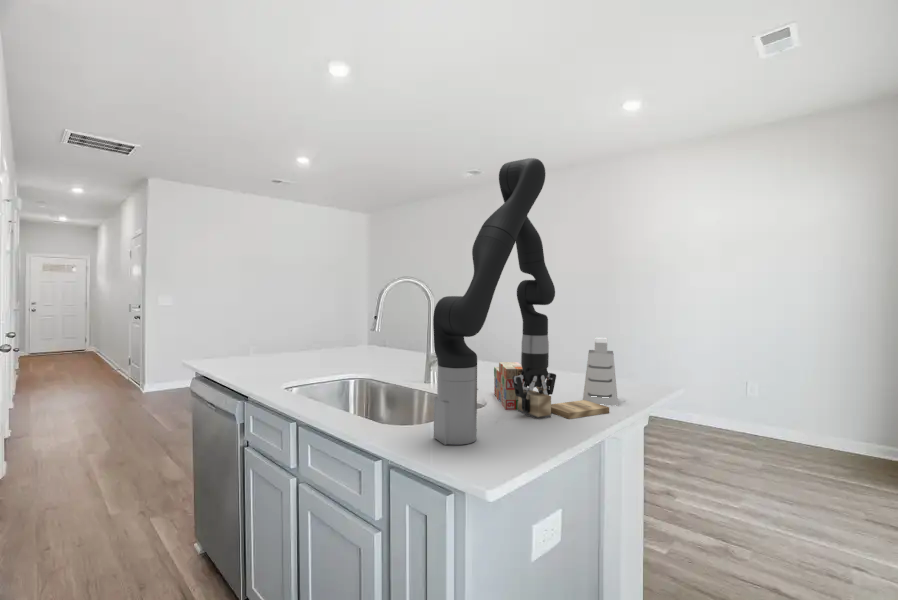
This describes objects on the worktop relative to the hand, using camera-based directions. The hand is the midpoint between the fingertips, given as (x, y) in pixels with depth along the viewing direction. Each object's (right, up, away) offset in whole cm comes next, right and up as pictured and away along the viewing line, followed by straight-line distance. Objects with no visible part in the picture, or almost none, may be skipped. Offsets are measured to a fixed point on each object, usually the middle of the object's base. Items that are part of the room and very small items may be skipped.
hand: (534, 410), depth 130 cm
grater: (+24, -1, +17) cm, 29 cm away
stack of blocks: (-5, -1, +16) cm, 17 cm away
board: (+13, -1, +3) cm, 13 cm away
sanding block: (0, -1, 0) cm, 1 cm away
